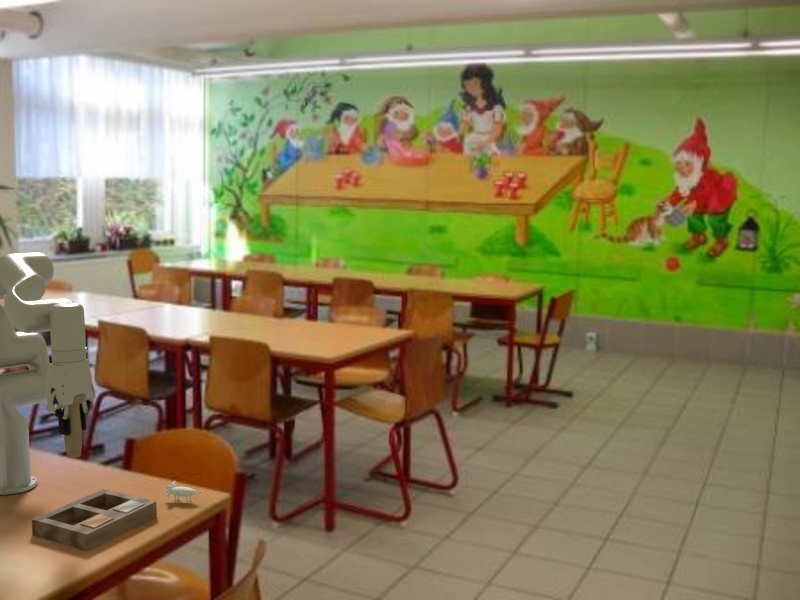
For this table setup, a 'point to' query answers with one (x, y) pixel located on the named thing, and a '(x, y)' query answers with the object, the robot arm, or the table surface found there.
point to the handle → (74, 429)
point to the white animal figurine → (180, 491)
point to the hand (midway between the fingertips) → (72, 431)
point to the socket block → (94, 519)
